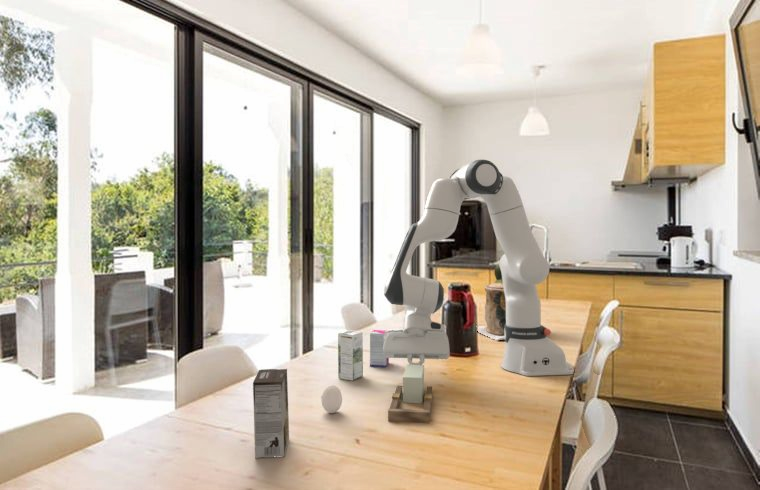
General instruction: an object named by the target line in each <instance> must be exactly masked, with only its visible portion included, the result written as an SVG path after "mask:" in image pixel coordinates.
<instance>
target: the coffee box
mask: <svg viewBox="0 0 760 490" xmlns="http://www.w3.org/2000/svg"><path fill="white" fill-rule="evenodd" d="M252 390H253V391H252V392H253V394H252V395H253V427H254V428H253V429H254V431H253V432H254V433H253V434H254V437H253V438H254V458H255V459H259V458H258V457H274V456H276V457H275V458H278V457H277V456H284V455H285V456H286V453H287V450H286V449H287V448H288V444H289V440H290V426H289V425H290V421H289V396H288V395H289V394H288V393H289V391H288V390H289V389H288V368H283V369H282V368H280V369H278V368H266V369H259V370H258V372H257V374H256V375H255V377H254V380H253V382H252Z"/></svg>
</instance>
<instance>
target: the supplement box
mask: <svg viewBox="0 0 760 490" xmlns="http://www.w3.org/2000/svg"><path fill="white" fill-rule="evenodd" d="M386 331H387V330H383V329H382V330H381V329H373V330H372V331H371V332H370V333H369V367H374V368H375V367H378V368H386V367H387V365H388V364H389V362H390V358H386V357H385V356H384V354H383V346H384V333H385V332H386Z"/></svg>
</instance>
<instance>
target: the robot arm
mask: <svg viewBox="0 0 760 490" xmlns="http://www.w3.org/2000/svg"><path fill="white" fill-rule="evenodd" d="M475 198H482V199H483V201H484V202H485V204H486V207H487V210H488V211H487V212H488V214H489V218H490V221H491V224H492V228H493V231H494V234H495V237H496V240H497V241H498V243H499V245H500V247H501V249H502V251H503V253H504V254H503V255H502V256H501V257H500V259H499V264H498V265H499V266H500V270H501V274H502V281H503V288H504V293H505V301H506V324H505V328H504V339H505V340H504V341H505V343H504V351H503V352H504V353H503V357H502V362H501V365H500V366H501V368H502V369H504V370H505V371H509V372H512V373H516V374H520V375H523V376H525V377H526V376H527V377H531V376H532V377H533V376H534V377H537V376H538V377H539V376H561V375H562V376H567V375H573V374H574V373H575V369H574V367H573V365H572V364H571V363H570V362H568V361H567V358H566V355H565V352H564V350H563V349H562V347H561V346H559V345H558V344H557V343H556V342H554V341H553V340H551V338H549V337H548V336H550V335H551V334H552V331H551V330H550V329H549V328H547V327H545V326H544V325H542V323H541V322H542V317H541V315H542V313H541V311H542V309H541V306H542V303H541V300H540V299H541V298H540V297H539V294H538V290H537V285H539V284H541V283H543V282H544V281H546V279H547V278H548V276H549V273H550V265H549V261H548V260H547V259H546V257H545V256H544V255H543V253H542V250H541V248H540V246H539V244H538V242H537V240H536V238H535V235H534V234H533V231H532V230H531V226H530V224H529V220H528V217H527V214H526V213H527V212H526V210H525V208H524V204H523V199H522V198H521V195H520V193H519V190H518V187H517V185H516V183H515V182H514V180H513V179H512V178H511V177H509V176H507V175H506V176H505V175H503V174H502V173H501V172H500V171H499V168H498V167H497V165H496V164H494V163H493V162H492V161H490V160H487V159H477V160H474V161H471V162H468V163H466V164H464V165H463V166H461V167H459V168H457V169H456V170H455V171H454V172H453V173H452V174H451V176H449V177H440V178H437V179H435V180H434V181H433V183H432V185H431V186H430V189H429V192H428V195H427V198H426V200H425V205H424V210H423V214H422V216H421V217H420V219H419V220H418V221H417V222H415V223H412V224H411V225H410V227H409V228H408V230H407V233H406V234H405V237H404V239H403V241H402V245H401V247H400V249H399V252H398V255H397V257H396V259H395V261H394V262H395V263H394V265H393V268H392V269H391V272H390V274H389V276H388V278H387V280H386V282H385V284H384V289H383V291H384V292H383V295H384V297H385V298H386V299H387V301H388V303H390V304H391V305H395V306H396V305H397V306H404V313H405V314H404V315H405V316H404V319H403V327H402V329H388V330H385V331H386V332H385V333H384V346H383V354H384V356H385V357H386V358H389V359H407V362H408V365H424V363H425V361H426V360H427V359H428V360H431V359H432V360H448V359H449V358H450V356H451V355H450V354H451V352H450V343H449V342H450V340H449V337H448V335H447V333H446V327H445V324H443V323H440V322H436V321H433V320H431V319H432V318H431V316H432V315H433V314H435V313H437V311H439V310H440V309H441V308H442V307H443V304H444V296H445V293H444V292H445V289H444V287H443V284H442V283H441V282H440V281H439V280H437V279H433V278H429V277H422V276H417V275H413V274H409V273H407V270H408V268H409V267H408V266H409V265H410V262H411V259H412V257H413V255H414V252H415V250H416V248H417V247H418V246H420V245H422V244H425V243H426V244H427V243H430V242H431V243H432V242H437V241H442V240H445V239H447V238H449V237H450V236H452V235H453V233H455V231H456V229H457V225H458V222H459V218H460V211H461V206H462V204H463V201H465V200H470V199H475ZM413 359H416V360H417V359H419V360H418V362H416V363H415V362H413Z"/></svg>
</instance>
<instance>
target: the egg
mask: <svg viewBox="0 0 760 490" xmlns="http://www.w3.org/2000/svg"><path fill="white" fill-rule="evenodd" d="M342 403H343V396H342V392H341V390H340V388H339V386H337V385H336V384H334V383H330V384H328V385H327V386H325V387H324V389H323V391H322V394H321V405H322V407H323V409H324V410H325V411H326V412H327V413H329V414H334V413H336V412H338V411H339V410H340V409H341V407H342Z"/></svg>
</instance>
